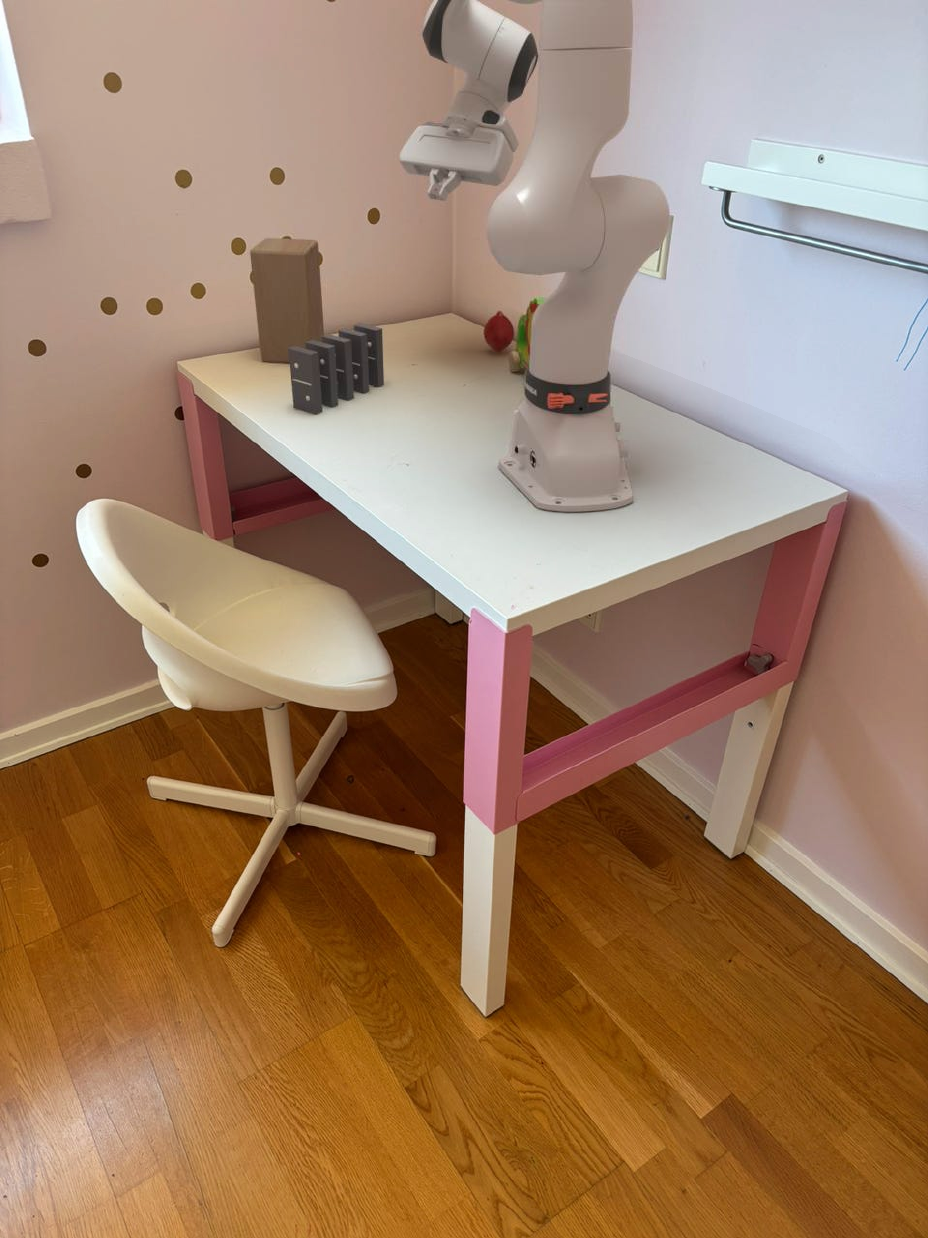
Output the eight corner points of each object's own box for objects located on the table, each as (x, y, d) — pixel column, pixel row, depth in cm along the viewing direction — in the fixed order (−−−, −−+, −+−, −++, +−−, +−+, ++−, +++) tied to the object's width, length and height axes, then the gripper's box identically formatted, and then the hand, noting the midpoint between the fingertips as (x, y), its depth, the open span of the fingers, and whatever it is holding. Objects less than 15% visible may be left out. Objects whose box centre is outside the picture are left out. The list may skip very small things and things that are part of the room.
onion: (481, 347, 186) (482, 305, 181) (510, 346, 186) (512, 305, 182) (485, 357, 181) (486, 314, 176) (515, 356, 182) (517, 314, 177)
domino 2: (316, 398, 162) (312, 339, 156) (338, 404, 160) (334, 345, 154) (309, 400, 161) (305, 342, 155) (331, 407, 158) (328, 348, 153)
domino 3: (332, 391, 165) (328, 334, 159) (353, 397, 162) (351, 339, 157) (325, 394, 163) (321, 336, 158) (347, 400, 161) (344, 342, 156)
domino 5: (362, 378, 170) (359, 322, 165) (383, 384, 168) (382, 328, 162) (356, 381, 169) (353, 325, 163) (377, 387, 167) (375, 330, 161)
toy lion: (506, 368, 176) (509, 284, 168) (534, 366, 177) (539, 282, 169) (532, 398, 163) (537, 309, 155) (562, 396, 164) (569, 307, 156)
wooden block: (325, 347, 184) (318, 239, 173) (313, 364, 176) (305, 252, 165) (275, 345, 185) (264, 237, 174) (260, 362, 177) (248, 249, 165)
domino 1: (300, 404, 159) (295, 345, 154) (322, 411, 157) (318, 352, 151) (293, 407, 158) (287, 348, 152) (315, 414, 156) (310, 354, 150)
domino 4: (347, 384, 167) (344, 328, 162) (369, 391, 165) (367, 333, 159) (341, 387, 166) (338, 330, 161) (363, 393, 164) (360, 336, 158)
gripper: (413, 107, 162) (378, 177, 161) (514, 117, 152) (478, 192, 151) (428, 134, 167) (395, 202, 166) (527, 145, 158) (492, 217, 156)
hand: (435, 197), depth 158 cm, fingers closed
